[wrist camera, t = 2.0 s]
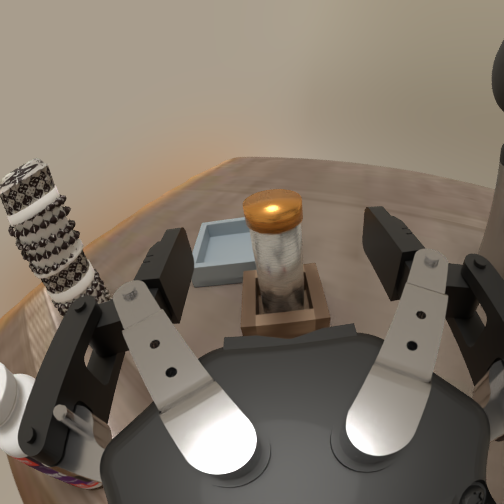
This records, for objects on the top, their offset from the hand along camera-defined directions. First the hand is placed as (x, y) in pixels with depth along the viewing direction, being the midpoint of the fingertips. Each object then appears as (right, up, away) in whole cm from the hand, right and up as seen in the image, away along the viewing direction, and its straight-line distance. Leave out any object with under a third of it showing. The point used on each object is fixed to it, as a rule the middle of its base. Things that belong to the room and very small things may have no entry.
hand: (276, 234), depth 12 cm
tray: (-2, -1, +32) cm, 32 cm away
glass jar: (+3, -8, +20) cm, 21 cm away
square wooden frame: (+3, -8, +20) cm, 22 cm away
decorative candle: (-25, -11, +24) cm, 36 cm away
